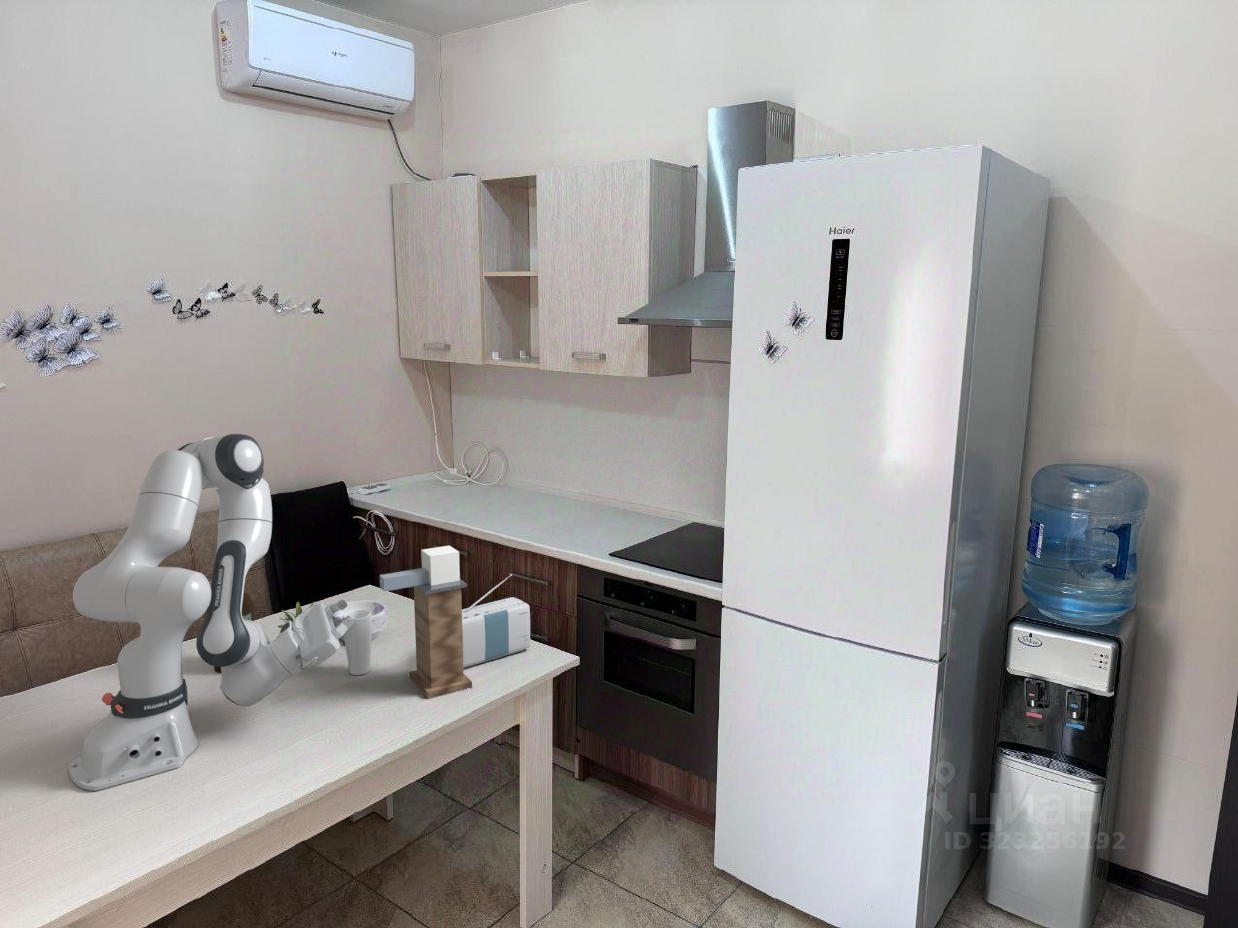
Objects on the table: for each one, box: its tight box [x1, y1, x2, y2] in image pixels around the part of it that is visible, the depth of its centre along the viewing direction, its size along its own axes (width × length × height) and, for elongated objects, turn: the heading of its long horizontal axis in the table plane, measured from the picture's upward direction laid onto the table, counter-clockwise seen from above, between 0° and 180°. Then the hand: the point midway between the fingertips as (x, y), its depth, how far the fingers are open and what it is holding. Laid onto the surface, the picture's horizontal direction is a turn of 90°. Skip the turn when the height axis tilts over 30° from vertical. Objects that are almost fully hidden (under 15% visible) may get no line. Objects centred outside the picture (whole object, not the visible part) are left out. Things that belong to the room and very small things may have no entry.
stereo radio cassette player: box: [462, 573, 531, 670], centre depth 217 cm, size 21×8×20 cm, turn 129°
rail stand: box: [408, 578, 473, 700], centre depth 201 cm, size 11×13×26 cm
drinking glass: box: [343, 610, 373, 676], centre depth 208 cm, size 7×7×15 cm
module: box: [379, 544, 461, 592], centre depth 196 cm, size 18×6×7 cm, turn 123°
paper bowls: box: [332, 599, 389, 642], centre depth 231 cm, size 15×15×8 cm
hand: (348, 610), depth 187 cm, fingers open, 8 cm apart
